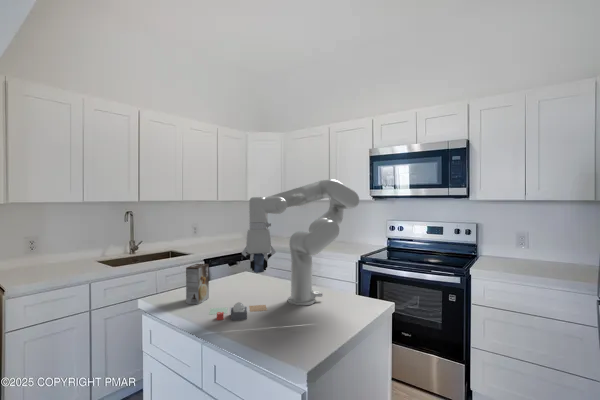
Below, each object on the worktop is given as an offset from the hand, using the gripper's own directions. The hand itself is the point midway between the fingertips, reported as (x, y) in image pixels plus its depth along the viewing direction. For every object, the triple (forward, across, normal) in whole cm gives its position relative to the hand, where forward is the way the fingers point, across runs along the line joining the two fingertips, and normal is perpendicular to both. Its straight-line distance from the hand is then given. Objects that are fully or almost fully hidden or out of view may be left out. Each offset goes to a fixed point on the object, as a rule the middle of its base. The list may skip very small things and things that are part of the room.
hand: (258, 269), depth 128 cm
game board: (+16, +8, +4) cm, 19 cm away
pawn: (+1, 0, 0) cm, 1 cm away
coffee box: (+17, +26, -16) cm, 35 cm away
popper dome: (+17, +8, +8) cm, 21 cm away
